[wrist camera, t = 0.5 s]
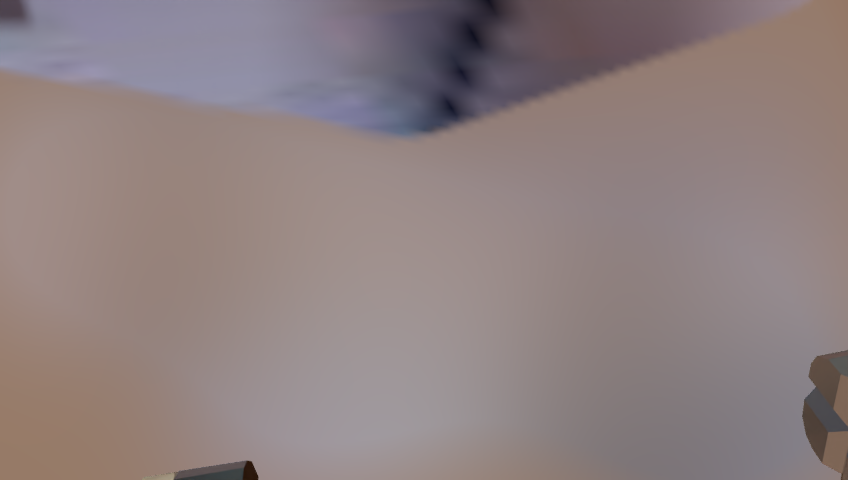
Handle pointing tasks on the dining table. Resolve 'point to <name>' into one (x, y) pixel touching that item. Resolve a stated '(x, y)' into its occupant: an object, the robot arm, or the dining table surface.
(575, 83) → the dining table surface
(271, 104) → the dining table surface
